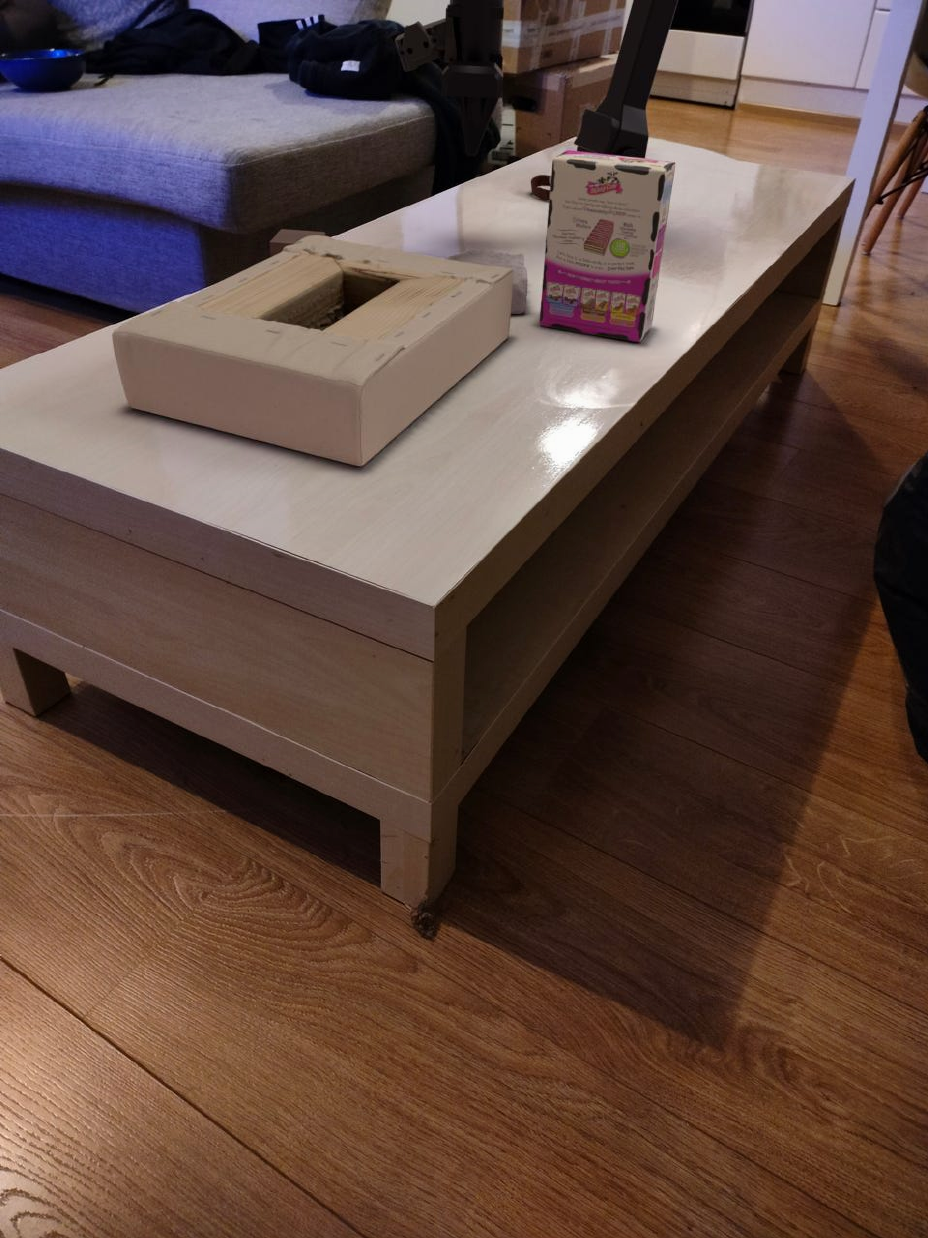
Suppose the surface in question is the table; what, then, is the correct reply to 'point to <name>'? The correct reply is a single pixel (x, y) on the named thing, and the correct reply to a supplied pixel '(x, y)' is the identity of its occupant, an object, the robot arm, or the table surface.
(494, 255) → the stone block
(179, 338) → the box
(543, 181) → the watch
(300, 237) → the walnut cube
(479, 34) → the robot arm
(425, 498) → the table surface
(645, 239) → the candy bar box
